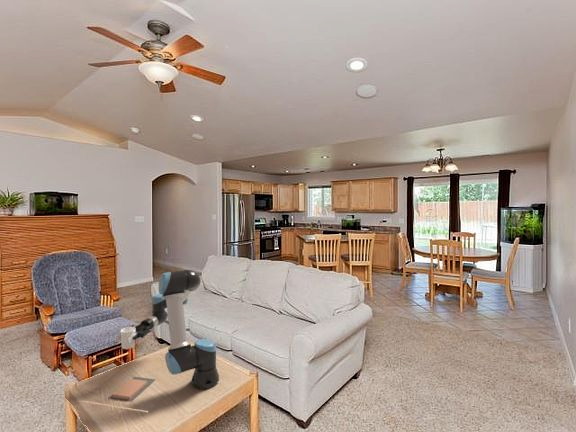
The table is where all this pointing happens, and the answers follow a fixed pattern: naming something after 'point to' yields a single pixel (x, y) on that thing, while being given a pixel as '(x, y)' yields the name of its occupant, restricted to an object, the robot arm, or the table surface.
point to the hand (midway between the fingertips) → (121, 339)
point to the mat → (149, 382)
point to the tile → (130, 389)
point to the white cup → (126, 334)
